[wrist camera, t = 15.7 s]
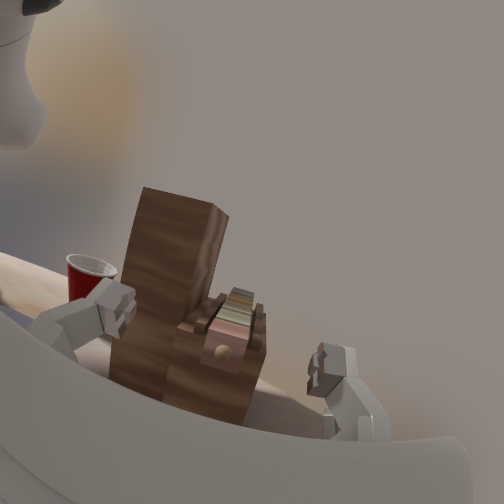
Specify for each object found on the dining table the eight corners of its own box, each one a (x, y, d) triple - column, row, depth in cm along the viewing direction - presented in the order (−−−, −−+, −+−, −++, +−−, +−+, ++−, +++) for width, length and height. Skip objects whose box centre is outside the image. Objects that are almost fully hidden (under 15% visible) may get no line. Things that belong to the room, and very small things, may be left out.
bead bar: (237, 377, 19) (248, 342, 19) (198, 365, 19) (207, 330, 19) (248, 312, 39) (254, 292, 39) (228, 306, 39) (233, 287, 39)
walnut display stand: (232, 448, 25) (304, 226, 24) (101, 399, 26) (135, 183, 25) (242, 386, 41) (288, 233, 40) (147, 355, 42) (181, 204, 41)
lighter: (352, 469, 23) (382, 423, 23) (349, 477, 22) (380, 431, 22) (304, 450, 27) (328, 404, 27) (298, 457, 25) (324, 410, 25)
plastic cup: (88, 338, 39) (95, 273, 39) (49, 314, 40) (55, 254, 40) (119, 324, 50) (128, 268, 49) (82, 305, 51) (89, 253, 50)
